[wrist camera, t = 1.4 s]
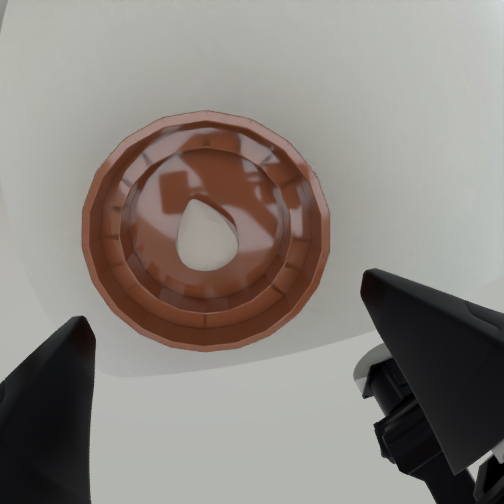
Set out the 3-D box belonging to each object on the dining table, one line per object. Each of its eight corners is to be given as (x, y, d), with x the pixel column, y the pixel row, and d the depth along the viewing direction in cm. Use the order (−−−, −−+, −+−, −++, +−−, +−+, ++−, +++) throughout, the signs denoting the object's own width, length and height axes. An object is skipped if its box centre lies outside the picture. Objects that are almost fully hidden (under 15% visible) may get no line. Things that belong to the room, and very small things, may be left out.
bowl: (309, 301, 23) (326, 333, 19) (135, 323, 22) (122, 357, 18) (300, 113, 17) (323, 104, 13) (92, 144, 16) (61, 145, 12)
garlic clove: (188, 268, 20) (185, 284, 18) (165, 205, 18) (157, 213, 16) (243, 251, 20) (247, 265, 18) (223, 186, 18) (224, 191, 16)
